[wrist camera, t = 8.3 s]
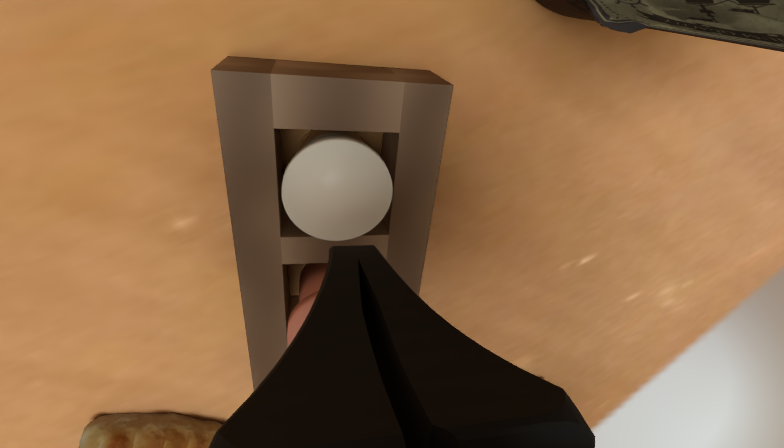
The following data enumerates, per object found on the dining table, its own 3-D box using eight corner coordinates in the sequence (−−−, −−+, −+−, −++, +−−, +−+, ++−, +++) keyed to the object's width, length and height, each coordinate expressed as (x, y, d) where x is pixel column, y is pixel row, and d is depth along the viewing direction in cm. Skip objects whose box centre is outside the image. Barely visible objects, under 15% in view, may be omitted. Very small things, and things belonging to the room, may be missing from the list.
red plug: (376, 243, 21) (390, 292, 17) (370, 308, 23) (382, 362, 20) (288, 246, 20) (284, 298, 16) (291, 313, 22) (289, 370, 19)
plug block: (429, 70, 18) (453, 85, 15) (388, 376, 29) (397, 419, 26) (227, 56, 16) (210, 69, 13) (265, 389, 27) (260, 437, 24)
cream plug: (381, 115, 19) (397, 142, 15) (374, 200, 21) (387, 239, 18) (283, 111, 18) (278, 139, 14) (287, 200, 20) (284, 242, 17)
